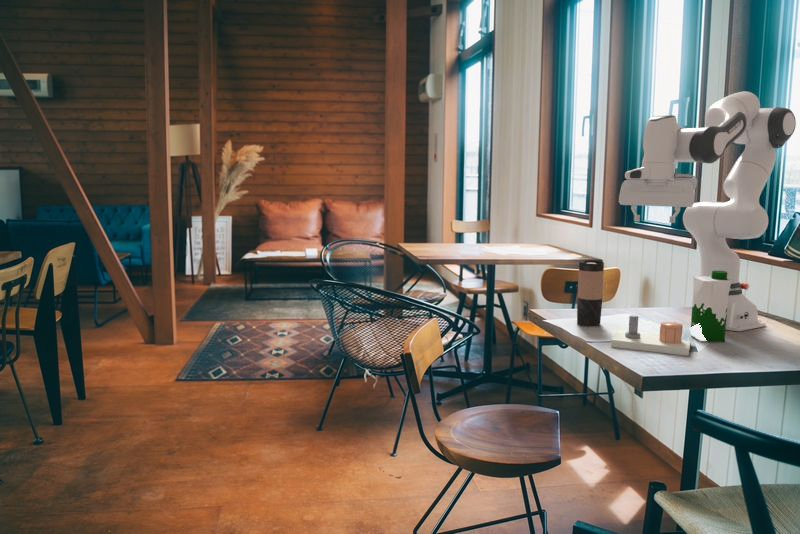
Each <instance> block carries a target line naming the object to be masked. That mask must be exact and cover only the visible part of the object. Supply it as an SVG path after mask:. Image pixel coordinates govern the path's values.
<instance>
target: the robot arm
mask: <svg viewBox="0 0 800 534" xmlns="http://www.w3.org/2000/svg"><path fill="white" fill-rule="evenodd" d="M677 121H678V120H677V117H676V116H675V115H673V114H663V115H655V116H651V117H650V118H649V119H647V122H646V125H645V128H644V135H643V143H642V144H643V146H642V147H643V148H642V149H643V158H642V161H641V167H639V168H638V167H637V168H634V169H631V170H627V171H625V173H624V178H625V179H626V180H624V181H623V182H622V183H621V186H620V191H619V195H618V203H619V205H621V206H631V207H630V209H631V212H632V213H633V216H634V218H633V219H634V220H633V221H634V222H640V221H641V219H640V218H641V215H640V214H638V213H637V212H636V210H637V206H645V207H646V206H647V207H648V206H649V207H673V208H674V211H675V212H674V214H673V215H670V216H669V220H668V221H669V222H668V223H670V224H671V223H672V224H676V217H677V216H678V215H679V213H680V212H681V208H685V210H684V212H683V215H682V223H683V226H684V228H685V230H686V231H688V232H689V233H690V235H692V237H693V238H694V240H695V242H696V244H697V247H698V249H699V253H700V276H699V277H702V276H706V277H712V271H725V272H727V279H728V280H730V281H731V285H730V290H729V295H728V306H727V319H726V331H732V332H733V331H734V332H742V331H747V330H753V329H757V328H763V327H766V325H767V324H766V322H765V321H763V320H760V319H759V314H758V311H759V310H758V307H757V306H756V305H755V303H753V302H752V301H751V300H749V298H748V297H746V296H745V294H743V290H745V291H748V290H749V288H750V284H749V283H746V282H741V283H740V271H741V258H740V256H739V255H738V253H737V252H736V251H734V250H732V249H731V248H730V247H729V245H728V243H727V240H726V239H736V240H737V239H738V240H750V239H758V238H760V237H761V236H762V235H764V233H765V232H766V230H767V229H768V225H769V216H768V213H767V211H766V210H765V209H764V207H763V206H761V204H760V196H761V194H762V192H763V190H764V188H765V186H766V184H767V182H768V180H769V179H770V177H771V174H772V172H773V170H774V167H775V164H776V160H777V152H776V150H777V149H780V148H782V147H783V146H784V145H785V144H786V143H787V141H788V140H790V138H791V137H792V136H793V134H794V132H795V129H796V123H797V122H796V117H795V114H794V112H793V111H792V110H791V109H789V108H786V107H780V106H779V107H778V106H777V107H765V108H764V107H761V103H760V99H759V98H758V96H757V95H756V94H754V93H753V92H751V91H738V92H735V93H731V94H729V95H727V96H724V97H723V98H721V99H719V100H718V101H717V100H716V102H714V103H713V104H711V105H710V107H709V108H708V109H707V110H706V112H705V115H704V123H705V126H704V127H688V128H687V127H683V126H681V125H680V124H679V123H678V122H677ZM730 145H735V146H739V145H745V148H744V150H743V152H742V153H740V155H739V157H738V158H737V160H736V161H735V162H734V164H733V165H732V167H731V169H730V171H729V173H728V175H727V176H726V178H725V180H724V182H723V192H724V194H725V195H726V197H728V198H729V199H730V200H728V201H724V202H723V201H709V200H706V201H705V200H704V201H699V202H698V201H696V202H695V190H696V188H697V186H698V178H697V177H696V176H695V175H692V174H691V173H686V174H685V173H676V163H701V164H714V163H715V162H717V161H718V160H719V159H720V158H721V157H722V156H723V154H724V153H725V151H726V150H727V148H728V147H729V146H730Z"/></svg>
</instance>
